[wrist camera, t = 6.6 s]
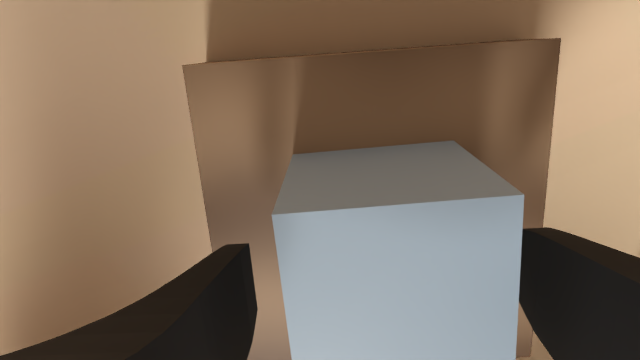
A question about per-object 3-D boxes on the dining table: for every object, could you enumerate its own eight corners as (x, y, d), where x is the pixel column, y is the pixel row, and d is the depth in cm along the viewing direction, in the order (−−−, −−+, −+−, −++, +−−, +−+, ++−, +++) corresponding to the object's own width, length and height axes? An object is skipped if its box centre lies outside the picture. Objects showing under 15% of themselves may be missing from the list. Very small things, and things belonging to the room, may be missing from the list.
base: (503, 315, 18) (530, 356, 15) (244, 326, 18) (231, 368, 16) (522, 39, 14) (560, 38, 12) (205, 62, 15) (182, 65, 13)
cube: (453, 282, 15) (513, 398, 10) (308, 292, 15) (298, 410, 10) (453, 140, 13) (524, 194, 8) (292, 154, 13) (271, 214, 9)
